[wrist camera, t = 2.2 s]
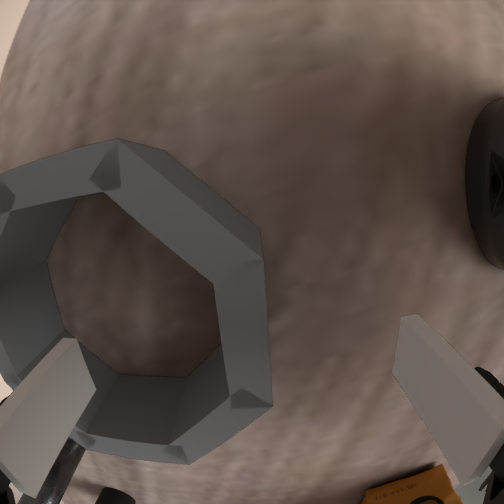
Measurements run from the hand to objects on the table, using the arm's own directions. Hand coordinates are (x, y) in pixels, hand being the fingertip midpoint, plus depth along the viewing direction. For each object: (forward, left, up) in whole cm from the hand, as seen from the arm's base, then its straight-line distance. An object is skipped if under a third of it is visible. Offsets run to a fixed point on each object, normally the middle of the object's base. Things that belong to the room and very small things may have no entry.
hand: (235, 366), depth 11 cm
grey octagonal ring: (+5, -5, -9) cm, 12 cm away
